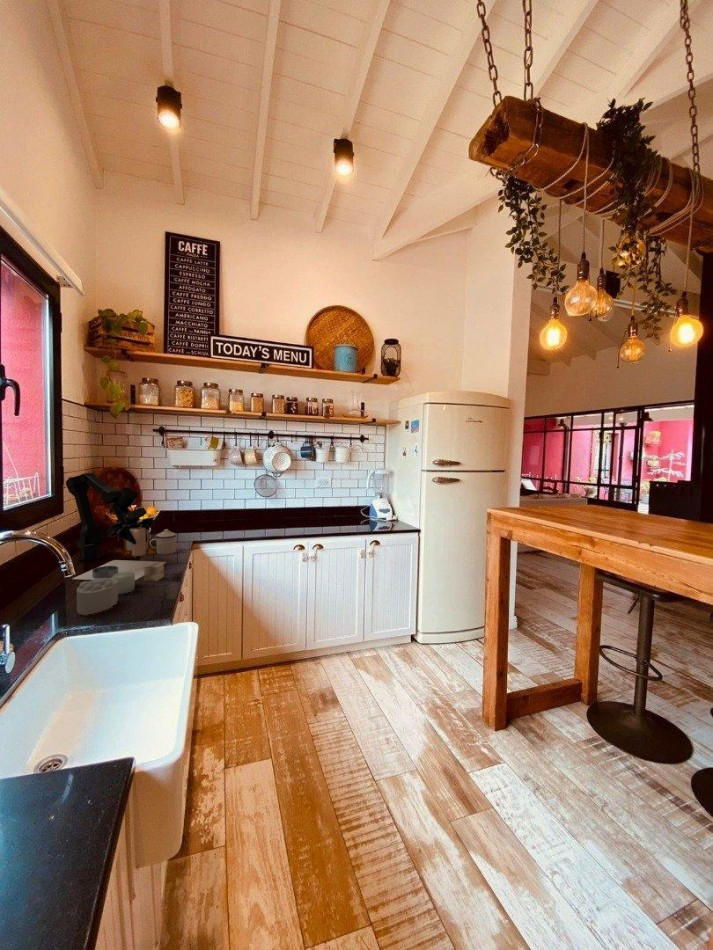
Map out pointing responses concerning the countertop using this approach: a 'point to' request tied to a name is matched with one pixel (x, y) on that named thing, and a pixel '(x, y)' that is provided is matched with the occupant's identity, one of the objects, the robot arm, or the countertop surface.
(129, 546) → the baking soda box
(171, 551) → the teacup with lid
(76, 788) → the countertop surface
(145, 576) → the birch block
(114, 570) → the metal collar
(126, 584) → the sage jar
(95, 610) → the lumpy-topped squat cylinder
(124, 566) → the board
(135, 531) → the pink cylinder
